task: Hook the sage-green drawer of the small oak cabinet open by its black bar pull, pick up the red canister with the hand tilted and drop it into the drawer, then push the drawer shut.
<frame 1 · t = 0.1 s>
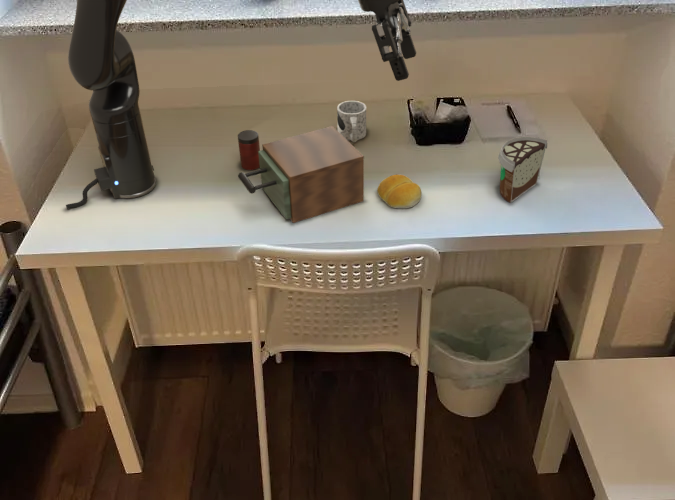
hand: (406, 67, 118), 31 cm above the table, tool tilted 20°, fingers open, 8 cm apart
cabinet: (314, 194, 145), on the table
mug: (352, 137, 163), on the table
red canister: (251, 164, 154), on the table
food container: (511, 188, 145), on the table
drawer: (292, 179, 140), point 5 cm above the table, slide at 0.0 cm
bread roll: (399, 198, 144), on the table
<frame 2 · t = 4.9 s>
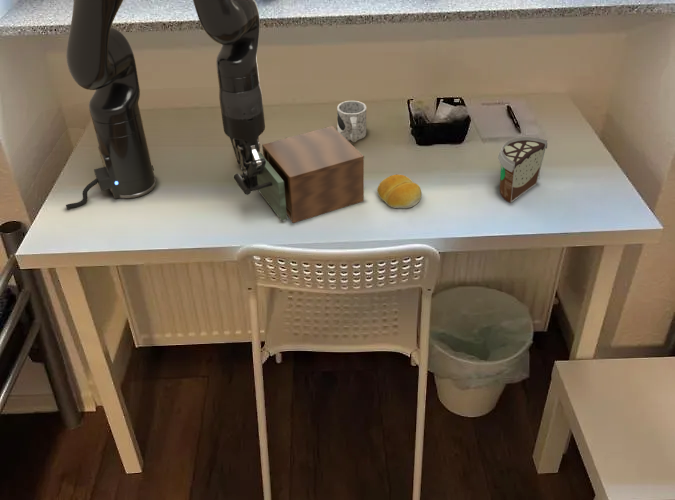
hand: (251, 188, 137), 6 cm above the table, tool pointing down, fingers closed
drawer: (287, 180, 139), point 5 cm above the table, slide at 1.0 cm, touching gripper
everything else where it was.
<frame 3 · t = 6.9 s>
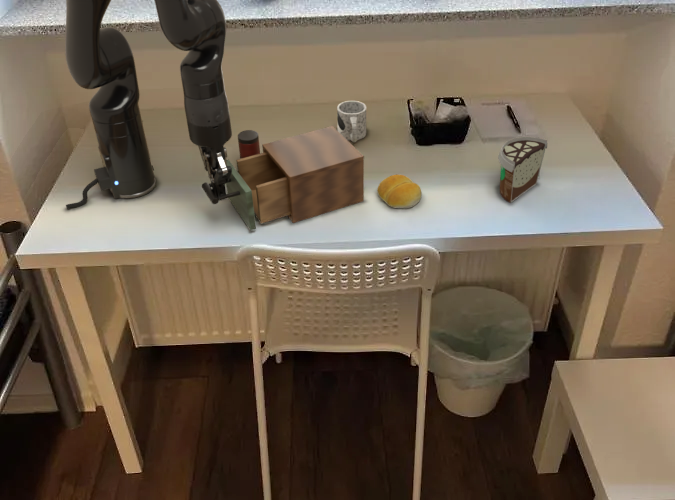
hand: (219, 195, 134), 6 cm above the table, tool pointing down, fingers closed
drawer: (257, 189, 137), point 5 cm above the table, slide at 7.4 cm
everything else where it was.
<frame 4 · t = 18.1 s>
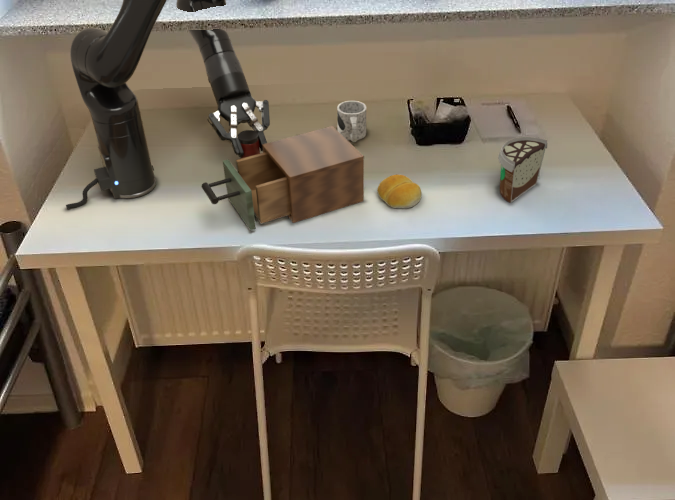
hand: (252, 152, 150), 4 cm above the table, tool tilted 45°, fingers closed on red canister, 4 cm apart
red canister: (251, 164, 154), on the table, touching gripper
everything else where it was.
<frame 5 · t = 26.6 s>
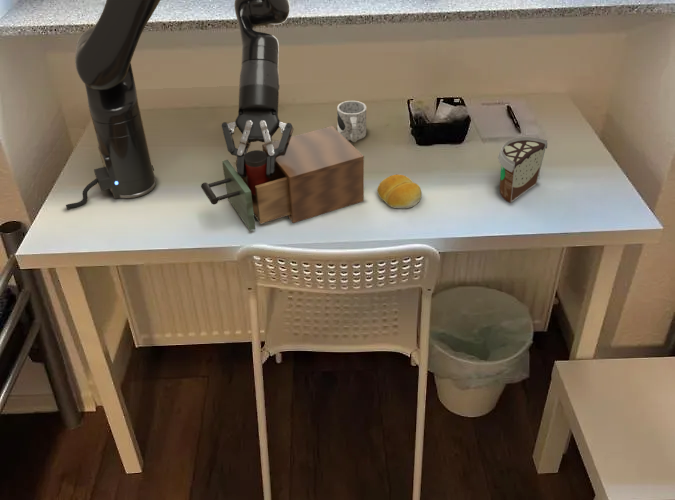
hand: (256, 176, 133), 9 cm above the table, tool tilted 45°, fingers closed on red canister, 4 cm apart
red canister: (259, 188, 137), point 5 cm above the table, touching gripper
drawer: (257, 189, 137), point 5 cm above the table, slide at 7.5 cm, touching gripper
everything else where it was.
when the fingers open (10 cm above the table, at t = 29.7 s): red canister drops 4 cm, point 2 cm above the table.
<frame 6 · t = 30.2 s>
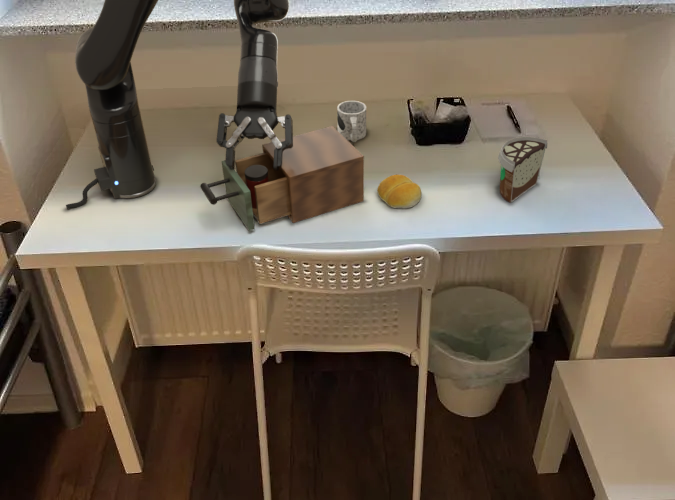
hand: (253, 169, 133), 11 cm above the table, tool tilted 45°, fingers open, 8 cm apart
red canister: (259, 202, 139), point 2 cm above the table
drawer: (256, 189, 137), point 5 cm above the table, slide at 7.7 cm
everything else where it was.
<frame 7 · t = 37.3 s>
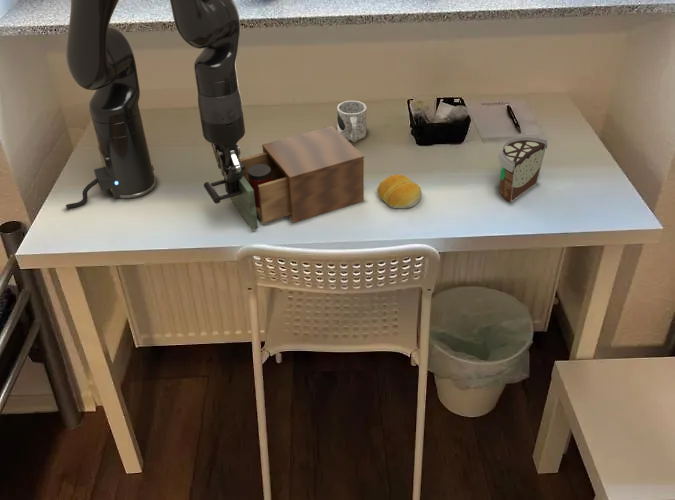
hand: (232, 193, 135), 6 cm above the table, tool pointing down, fingers closed
red canister: (262, 201, 140), point 2 cm above the table, touching drawer
drawer: (259, 188, 137), point 5 cm above the table, slide at 7.0 cm, touching red canister, gripper
everything else where it was.
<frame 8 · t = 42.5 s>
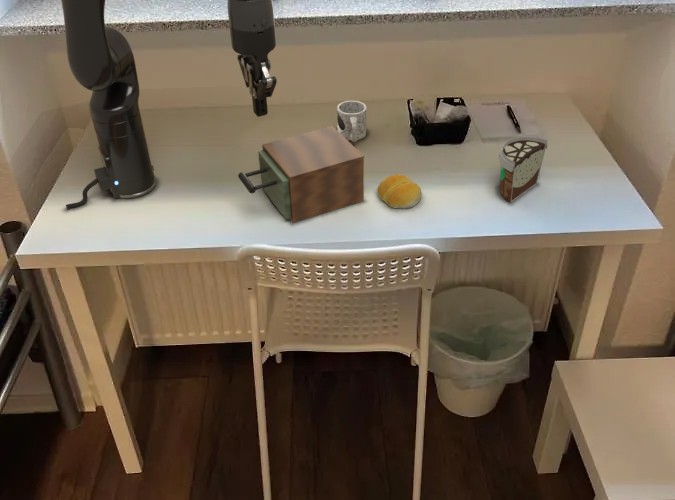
hand: (260, 114, 128), 21 cm above the table, tool pointing down, fingers closed
red canister: (294, 192, 142), point 2 cm above the table, touching drawer
drawer: (292, 179, 140), point 5 cm above the table, slide at 0.0 cm, touching red canister
everything else where it was.
at the end: drawer pulled out 7.7 cm at the most during the clip, back to where it started at the end; red canister inside the target area in the cabinet (4.1 cm from its centre), point 2.0 cm above the cabinet's base; drawer slide at 0.0 cm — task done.
